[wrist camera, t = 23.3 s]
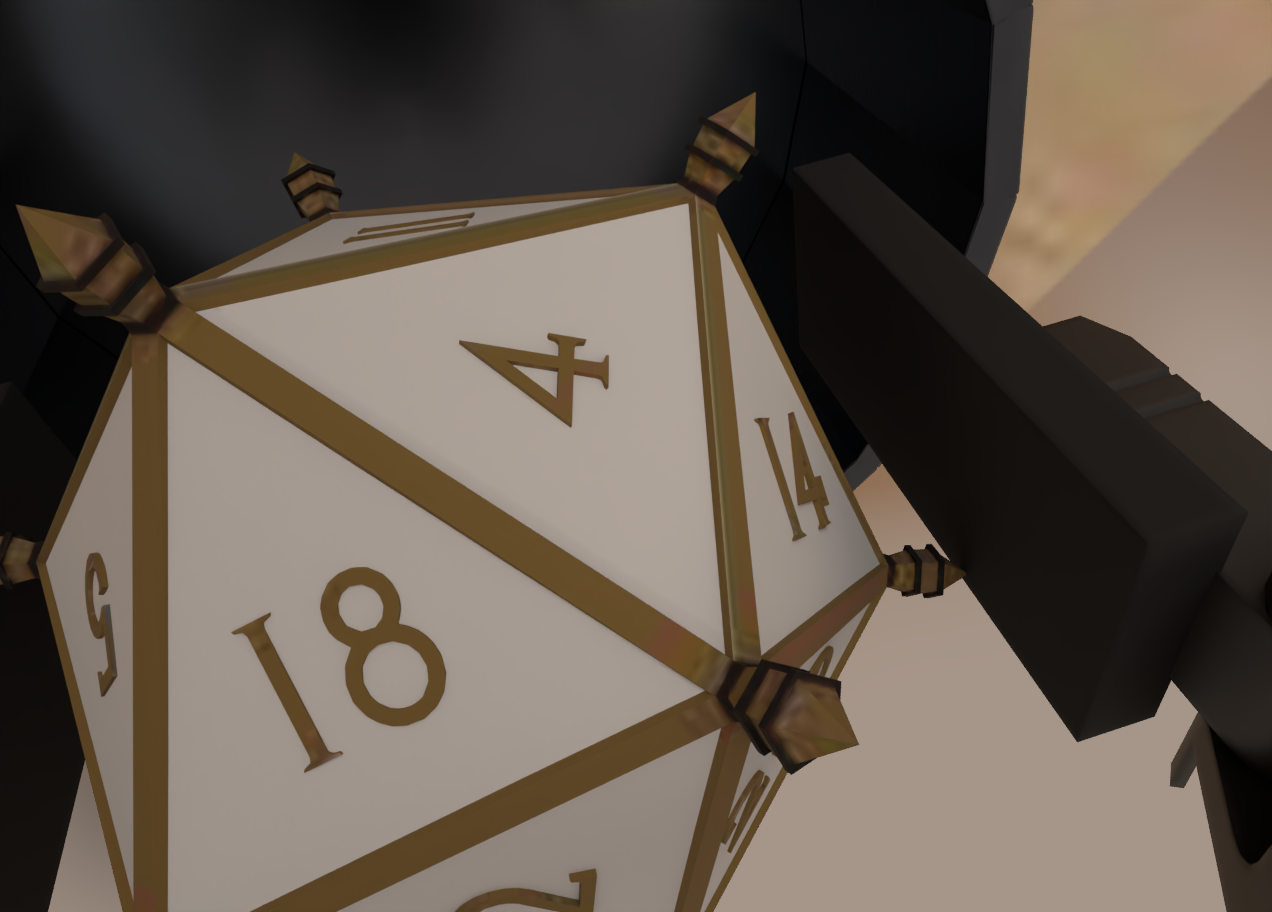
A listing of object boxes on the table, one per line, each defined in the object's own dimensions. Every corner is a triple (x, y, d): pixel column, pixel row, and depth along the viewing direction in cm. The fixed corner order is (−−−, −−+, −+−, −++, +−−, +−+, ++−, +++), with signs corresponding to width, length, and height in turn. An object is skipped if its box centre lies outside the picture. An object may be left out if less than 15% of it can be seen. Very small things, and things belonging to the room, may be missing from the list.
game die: (435, 97, 13) (1068, -419, 5) (691, 536, 16) (1351, 708, 8) (-214, 451, 10) (-2452, 989, 1) (270, 923, 13) (629, 2009, 4)
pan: (-270, 231, 16) (-586, 510, 11) (124, -1036, 9) (-181, -2055, 4) (513, 536, 26) (559, 761, 21) (973, 25, 19) (1223, 154, 14)
